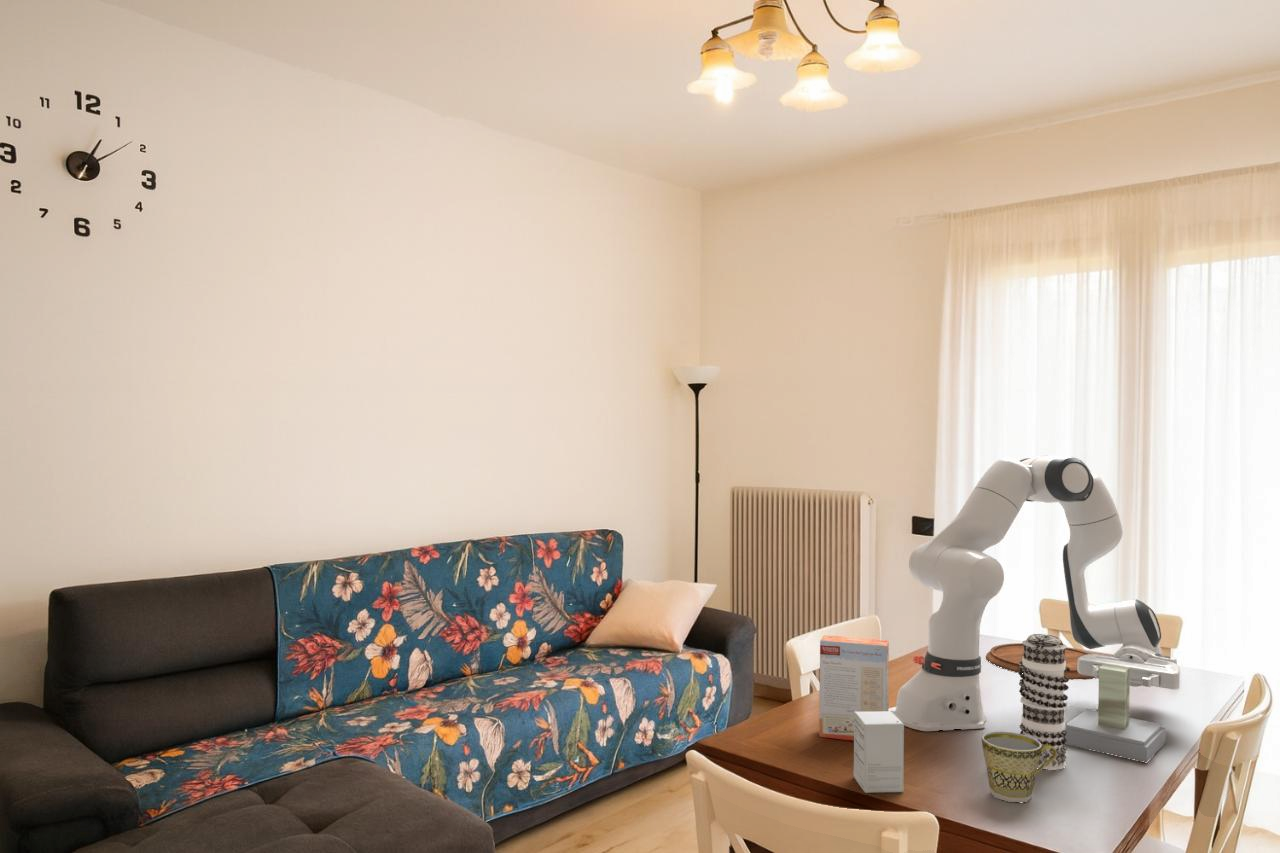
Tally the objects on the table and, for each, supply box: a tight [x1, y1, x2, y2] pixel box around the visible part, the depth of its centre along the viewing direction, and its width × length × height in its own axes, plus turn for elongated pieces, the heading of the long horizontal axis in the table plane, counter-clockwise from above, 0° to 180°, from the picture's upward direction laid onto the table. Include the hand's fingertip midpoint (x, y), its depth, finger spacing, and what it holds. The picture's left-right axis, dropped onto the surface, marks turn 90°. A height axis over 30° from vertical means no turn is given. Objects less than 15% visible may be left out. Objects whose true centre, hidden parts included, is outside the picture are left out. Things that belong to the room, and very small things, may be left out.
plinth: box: [1064, 708, 1167, 762], centre depth 188 cm, size 16×16×4 cm
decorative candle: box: [1018, 633, 1070, 771], centre depth 177 cm, size 9×9×25 cm
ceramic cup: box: [981, 730, 1056, 803], centre depth 161 cm, size 13×10×10 cm
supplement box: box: [853, 711, 905, 794], centre depth 165 cm, size 7×7×13 cm
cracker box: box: [818, 634, 890, 742], centre depth 190 cm, size 14×6×21 cm, turn 70°
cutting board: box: [985, 642, 1094, 681], centre depth 253 cm, size 32×32×3 cm
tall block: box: [1097, 663, 1131, 730], centre depth 188 cm, size 5×5×12 cm
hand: (1121, 678), depth 194 cm, fingers open, 8 cm apart
